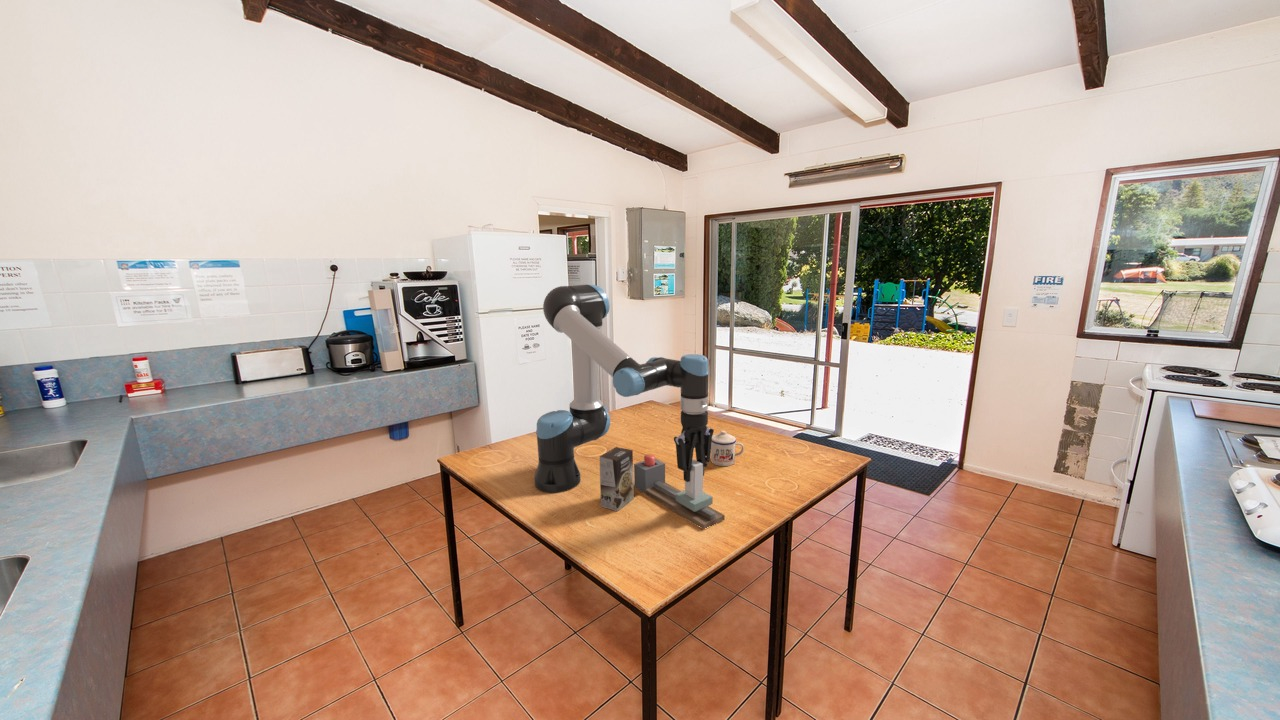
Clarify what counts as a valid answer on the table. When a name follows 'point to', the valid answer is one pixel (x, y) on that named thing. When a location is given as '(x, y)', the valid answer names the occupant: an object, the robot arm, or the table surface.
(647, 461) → the button
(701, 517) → the rail base
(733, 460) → the teacup with lid
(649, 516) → the table surface
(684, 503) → the carriage
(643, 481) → the red push button box
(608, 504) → the coffee box
